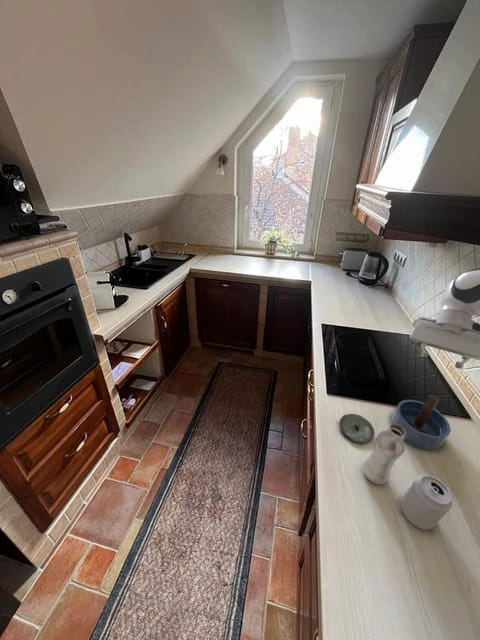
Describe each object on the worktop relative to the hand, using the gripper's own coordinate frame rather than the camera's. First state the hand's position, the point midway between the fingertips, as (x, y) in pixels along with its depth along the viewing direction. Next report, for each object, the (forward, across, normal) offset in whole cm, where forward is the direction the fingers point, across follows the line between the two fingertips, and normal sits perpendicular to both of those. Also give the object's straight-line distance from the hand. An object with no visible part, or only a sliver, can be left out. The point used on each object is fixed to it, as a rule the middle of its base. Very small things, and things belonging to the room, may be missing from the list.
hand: (440, 362), depth 82 cm
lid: (+31, -17, -1) cm, 36 cm away
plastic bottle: (+40, -10, -9) cm, 42 cm away
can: (+43, +1, -12) cm, 45 cm away
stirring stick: (+23, 0, +7) cm, 24 cm away
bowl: (+23, 0, +7) cm, 24 cm away
